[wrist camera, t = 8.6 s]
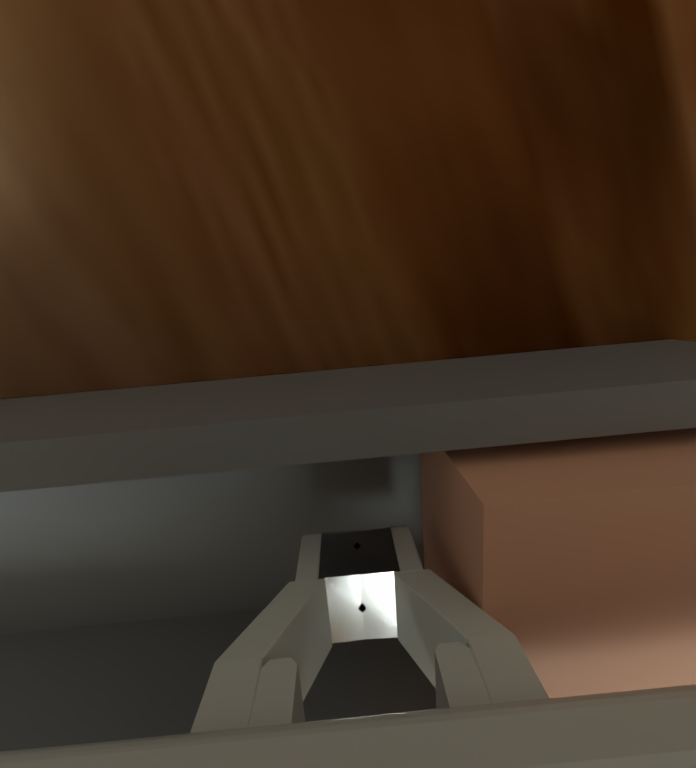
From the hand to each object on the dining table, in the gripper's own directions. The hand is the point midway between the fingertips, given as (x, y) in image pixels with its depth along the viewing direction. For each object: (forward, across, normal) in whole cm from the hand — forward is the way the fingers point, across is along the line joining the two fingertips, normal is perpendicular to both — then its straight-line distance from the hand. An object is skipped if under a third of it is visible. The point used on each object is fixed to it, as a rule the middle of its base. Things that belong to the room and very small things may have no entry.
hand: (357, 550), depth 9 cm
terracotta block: (+2, -5, 0) cm, 5 cm away
